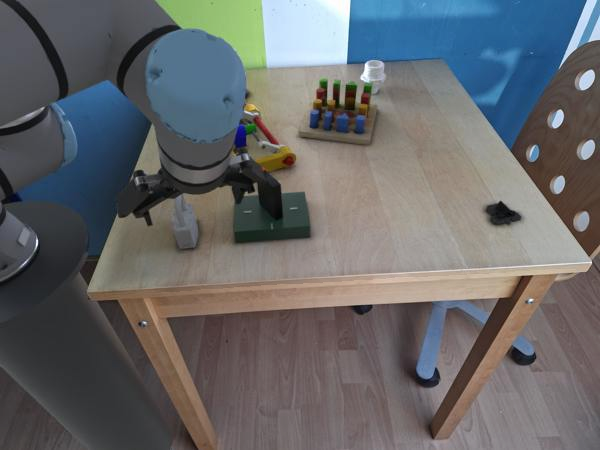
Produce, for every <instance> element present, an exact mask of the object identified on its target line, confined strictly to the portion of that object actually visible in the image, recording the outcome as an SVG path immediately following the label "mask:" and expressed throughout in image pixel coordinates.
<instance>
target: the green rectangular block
mask: <svg viewBox="0 0 600 450" xmlns="http://www.w3.org/2000/svg"><path fill="white" fill-rule="evenodd" d="M281 194H282V211H283V217H282V218H280V219H278V220H275V219H274V218H273V217H272V216H271V215H270V214H269V213H268V212H267V211H266V210H265V209H264V208H263V207H262V206H261V205H260V204H259V197H258V194H251V195H244V197H243V199H242V201H241V203H240V204H236V202H235V200H234V205H233V211H234V213H233V237H234V241H235V244H241V243H242V244H243V243H254V242H265V241H266V242H267V241H268V242H269V241H279V240H280V241H281V240H292V239H305V238H311V222H310V216H309V209H308V203H307V197H306V191H294V192H281Z"/></svg>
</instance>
